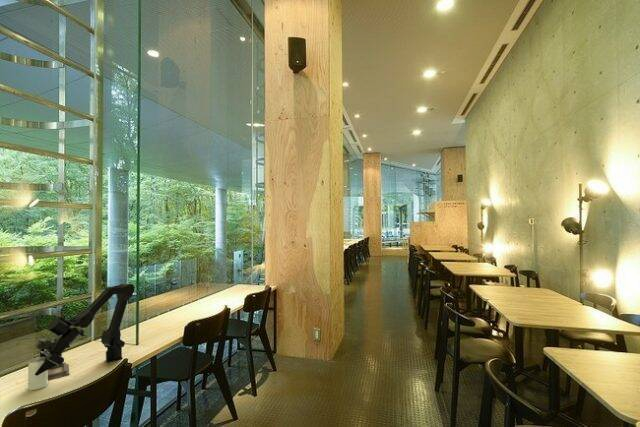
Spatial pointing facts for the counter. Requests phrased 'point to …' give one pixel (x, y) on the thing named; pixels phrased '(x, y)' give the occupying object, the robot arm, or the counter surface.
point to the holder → (58, 371)
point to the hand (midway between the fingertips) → (33, 373)
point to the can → (40, 379)
